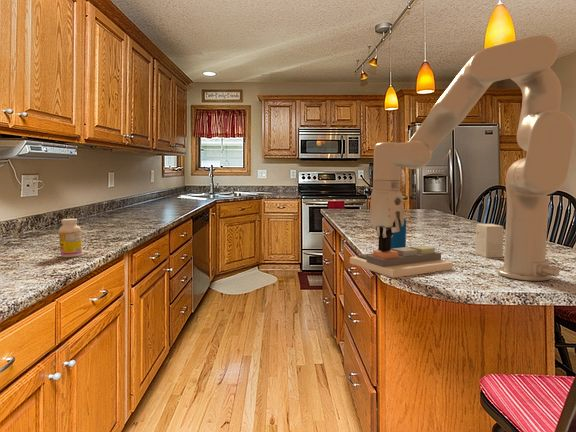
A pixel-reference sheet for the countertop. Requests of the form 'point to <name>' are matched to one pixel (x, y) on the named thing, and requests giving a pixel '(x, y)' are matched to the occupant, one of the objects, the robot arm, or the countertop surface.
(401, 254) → the key slate
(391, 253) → the key terracotta
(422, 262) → the keypad
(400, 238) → the beverage can
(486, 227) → the small box
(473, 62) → the robot arm
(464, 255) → the countertop surface
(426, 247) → the key sage
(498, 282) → the countertop surface
